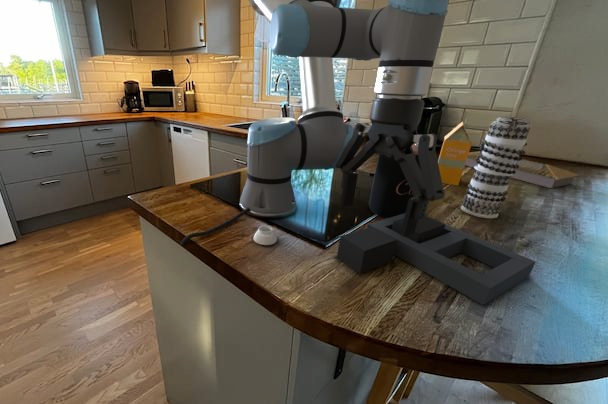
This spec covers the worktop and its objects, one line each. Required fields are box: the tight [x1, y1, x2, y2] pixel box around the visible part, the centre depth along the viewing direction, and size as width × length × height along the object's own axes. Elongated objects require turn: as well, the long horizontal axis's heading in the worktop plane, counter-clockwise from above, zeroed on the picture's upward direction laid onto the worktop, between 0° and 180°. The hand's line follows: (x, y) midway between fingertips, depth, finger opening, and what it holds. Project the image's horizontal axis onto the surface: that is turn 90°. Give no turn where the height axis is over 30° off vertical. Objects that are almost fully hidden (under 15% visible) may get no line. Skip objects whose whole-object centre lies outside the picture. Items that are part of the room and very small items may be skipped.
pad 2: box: [391, 215, 447, 244], centre depth 64 cm, size 9×6×5 cm, turn 119°
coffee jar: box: [368, 143, 422, 219], centre depth 77 cm, size 11×11×18 cm
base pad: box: [366, 213, 537, 306], centre depth 60 cm, size 16×24×4 cm, turn 28°
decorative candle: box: [460, 116, 534, 219], centre depth 77 cm, size 9×9×25 cm
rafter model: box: [465, 150, 581, 189], centre depth 115 cm, size 35×14×6 cm, turn 23°
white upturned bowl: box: [253, 225, 278, 246], centre depth 64 cm, size 5×3×5 cm
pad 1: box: [336, 226, 397, 275], centre depth 58 cm, size 9×6×5 cm, turn 118°
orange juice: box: [437, 121, 473, 186], centre depth 102 cm, size 8×9×20 cm
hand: (373, 218), depth 55 cm, fingers open, 13 cm apart
